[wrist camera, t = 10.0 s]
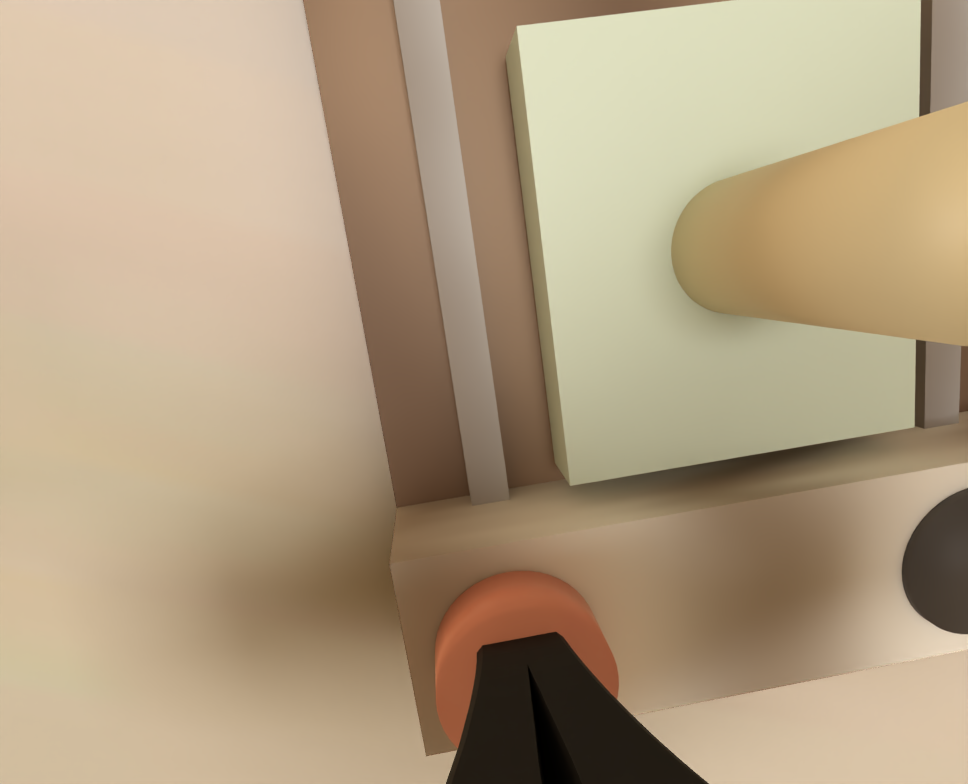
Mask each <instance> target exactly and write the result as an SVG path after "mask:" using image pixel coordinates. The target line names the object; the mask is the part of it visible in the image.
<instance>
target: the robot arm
mask: <svg viewBox="0 0 968 784" xmlns="http://www.w3.org/2000/svg"><path fill="white" fill-rule="evenodd" d="M446 784H709V783H707V782H706V781H705V780H704V779H702V778H701V777H700V776H699V775H698V774H696V773H695V772H694V771H693V770H692V769H690V768H689V767H688V766H687V765H686V764H685V763H683V762H682V761H681V760H680V759H679V758H678V757H677V756H675V755H674V754H673V753H672V752H671V751H670V750H669V749H668V748H667V747H665V746H664V745H663V744H662V743H661V742H660V741H659V740H658V739H657V738H655V737H654V736H653V735H652V734H651V733H650V732H649V731H648V730H647V729H646V728H645V727H644V726H643V725H642V724H641V723H640V722H639V721H638V720H637V719H636V718H635V717H634V716H633V715H632V714H631V713H630V712H629V711H628V710H627V709H626V708H625V707H624V706H623V705H622V704H621V703H620V702H619V701H618V700H617V699H616V698H615V697H614V696H613V695H612V694H611V693H610V692H609V691H608V690H607V689H606V688H605V686H604V685H603V684H602V683H601V682H600V681H599V680H598V679H597V678H596V677H595V675H594V674H593V673H592V672H591V671H590V670H589V669H588V667H587V666H586V665H585V664H584V663H583V662H582V660H581V659H580V658H579V657H578V655H577V654H576V653H575V652H574V650H573V649H572V648H571V647H570V645H569V644H568V643H567V641H566V640H565V639H564V637H563V636H561V635H560V634H559V633H557V632H551V633H546V634H540V635H535V636H530V637H525V638H519V639H514V640H509V641H503V642H498V643H492V644H487V645H482V647H481V648H480V649H479V650H478V652H477V663H476V673H475V680H474V686H473V691H472V695H471V700H470V705H469V709H468V713H467V717H466V720H465V724H464V728H463V732H462V735H461V739H460V743H459V746H458V750H457V753H456V756H455V759H454V762H453V765H452V768H451V771H450V773H449V776H448V779H447V782H446Z"/></svg>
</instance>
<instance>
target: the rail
mask: <svg viewBox="0 0 968 784" xmlns="http://www.w3.org/2000/svg"><path fill="white" fill-rule="evenodd" d="M723 1H731V0H303V2H304V8H305V13H306V19H307V24H308V30H309V35H310V40H311V46H312V51H313V57H314V62H315V67H316V73H317V78H318V84H319V89H320V94H321V100H322V105H323V111H324V116H325V122H326V127H327V132H328V138H329V143H330V149H331V154H332V159H333V165H334V170H335V176H336V181H337V187H338V192H339V197H340V203H341V208H342V214H343V219H344V224H345V230H346V235H347V241H348V246H349V251H350V257H351V262H352V268H353V273H354V279H355V284H356V289H357V295H358V300H359V306H360V311H361V316H362V322H363V327H364V333H365V338H366V343H367V349H368V354H369V360H370V365H371V371H372V376H373V381H374V387H375V392H376V398H377V403H378V408H379V414H380V419H381V425H382V430H383V436H384V441H385V446H386V452H387V457H388V463H389V468H390V473H391V479H392V484H393V490H394V495H395V500H396V506H397V510H396V518H395V525H394V533H393V540H392V548H391V555H390V563H389V565H390V570H391V575H392V580H393V585H394V591H395V596H396V601H397V606H398V611H399V617H400V622H401V627H402V632H403V638H404V643H405V648H406V653H407V658H408V664H409V669H410V674H411V679H412V684H413V690H414V695H415V700H416V705H417V711H418V716H419V721H420V726H421V731H422V737H423V742H424V747H425V752H426V756H429V755H434V754H440V753H445V752H450V751H455V750H458V748H457V747H456V746H455V745H454V744H453V743H452V742H451V740H450V739H449V738H448V736H447V735H446V733H445V731H444V730H443V727H442V725H441V723H440V720H439V716H438V713H437V707H436V685H435V642H436V636H437V632H438V629H439V626H440V623H441V621H442V619H443V617H444V615H445V613H446V612H447V610H448V609H449V607H450V606H451V605H452V603H453V602H454V601H455V600H456V599H457V598H458V597H459V596H460V595H461V594H462V593H463V592H465V591H466V590H467V589H468V588H470V587H471V586H473V585H474V584H476V583H478V582H480V581H482V580H484V579H486V578H488V577H491V576H494V575H497V574H501V573H505V572H512V571H533V572H540V573H544V574H548V575H551V576H553V577H556V578H558V579H560V580H562V581H564V582H566V583H567V584H569V585H570V586H571V587H573V588H574V589H575V590H577V591H578V593H579V594H580V595H581V596H582V597H583V598H584V599H585V601H586V602H587V603H588V605H589V607H590V609H591V610H592V612H593V614H594V616H595V618H596V621H597V623H598V625H599V627H600V629H601V631H602V633H603V635H604V637H605V639H606V641H607V643H608V645H609V647H610V649H611V651H612V654H613V656H614V659H615V662H616V664H617V669H618V675H619V690H618V697H617V700H618V701H619V702H620V703H621V704H622V705H623V706H624V707H625V708H626V709H627V710H628V711H629V712H630V713H631V714H632V715H638V714H643V713H648V712H653V711H658V710H664V709H669V708H674V707H679V706H684V705H689V704H694V703H699V702H704V701H709V700H714V699H720V698H725V697H730V696H735V695H740V694H745V693H750V692H755V691H760V690H765V689H770V688H776V687H781V686H786V685H791V684H796V683H801V682H806V681H811V680H816V679H821V678H826V677H832V676H837V675H842V674H847V673H852V672H857V671H862V670H867V669H872V668H877V667H882V666H888V665H893V664H898V663H903V662H908V661H913V660H918V659H923V658H928V657H933V656H938V655H944V654H949V653H954V652H959V651H964V650H968V346H959V345H952V344H945V343H937V342H930V341H923V340H916V363H915V427H914V428H908V429H902V430H896V431H890V432H885V433H879V434H873V435H867V436H861V437H855V438H849V439H843V440H837V441H832V442H826V443H820V444H814V445H808V446H802V447H796V448H790V449H785V450H779V451H773V452H767V453H761V454H755V455H749V456H743V457H737V458H732V459H726V460H720V461H714V462H708V463H702V464H696V465H690V466H685V467H679V468H673V469H667V470H661V471H655V472H649V473H643V474H638V475H632V476H626V477H620V478H614V479H608V480H602V481H596V482H590V483H585V484H579V485H573V486H570V485H569V483H568V482H567V480H566V479H565V477H564V476H563V474H562V473H561V471H560V470H559V468H558V467H557V465H556V464H555V460H554V452H553V443H552V435H551V427H550V419H549V411H548V402H547V394H546V386H545V378H544V369H543V361H542V353H541V345H540V337H539V328H538V320H537V312H536V304H535V295H534V287H533V279H532V271H531V262H530V254H529V246H528V238H527V230H526V221H525V213H524V205H523V197H522V188H521V180H520V172H519V164H518V156H517V147H516V139H515V131H514V123H513V114H512V106H511V98H510V90H509V81H508V73H507V65H506V54H507V52H508V49H509V46H510V43H511V40H512V38H513V35H514V32H515V29H516V26H521V25H530V24H538V23H546V22H555V21H563V20H572V19H580V18H588V17H597V16H605V15H614V14H622V13H630V12H639V11H647V10H656V9H664V8H672V7H681V6H689V5H697V4H706V3H714V2H723ZM967 101H968V0H921V27H920V94H919V117H920V116H923V115H927V114H930V113H933V112H936V111H939V110H942V109H945V108H949V107H952V106H955V105H958V104H961V103H964V102H967Z"/></svg>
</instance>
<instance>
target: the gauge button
mask: <svg viewBox="0 0 968 784" xmlns="http://www.w3.org/2000/svg"><path fill="white" fill-rule="evenodd" d="M551 632H557V633H559V634H560V635H561V636H563V637H564V639H565V640H566V641H567V643H568V644H569V645H570V647H571V648H572V649H573V650H574V652H575V653H576V654H577V655H578V657H579V658H580V659H581V660H582V662H583V663H584V664H585V665H586V666H587V667H588V669H589V670H590V671H591V672H592V673H593V674H594V675H595V677H596V678H597V679H598V680H599V681H600V682H601V683H602V684H603V685H604V686H605V688H606V689H607V690H608V691H609V692H610V693H611V694H612V695H613V696H614V697H615V698H616V699H617V697H618V690H619V675H618V669H617V664H616V662H615V659H614V656H613V654H612V651H611V649H610V647H609V645H608V643H607V641H606V639H605V637H604V635H603V633H602V631H601V629H600V627H599V625H598V623H597V621H596V618H595V616H594V614H593V612H592V610H591V609H590V607H589V605H588V603H587V602H586V601H585V599H584V598H583V597H582V596H581V595H580V594H579V593H578V591H577V590H575V589H574V588H573V587H571V586H570V585H569V584H567V583H566V582H564V581H562V580H560V579H558V578H556V577H553V576H551V575H548V574H544V573H540V572H533V571H512V572H505V573H501V574H497V575H494V576H491V577H488V578H486V579H484V580H482V581H480V582H478V583H476V584H474V585H473V586H471V587H470V588H468V589H467V590H466V591H465V592H463V593H462V594H461V595H460V596H459V597H458V598H457V599H456V600H455V601H454V602H453V603H452V605H451V606H450V607H449V609H448V610H447V612H446V613H445V615H444V617H443V619H442V621H441V623H440V626H439V629H438V632H437V636H436V642H435V685H436V707H437V713H438V716H439V720H440V723H441V725H442V727H443V730H444V731H445V733H446V735H447V736H448V738H449V739H450V740H451V742H452V743H453V744H454V745H455V746H456V747H457V748H458V746H459V743H460V739H461V735H462V732H463V728H464V724H465V720H466V717H467V713H468V709H469V705H470V700H471V695H472V691H473V686H474V680H475V673H476V663H477V652H478V650H479V649H480V648H481V647H482V645H487V644H492V643H498V642H503V641H509V640H514V639H519V638H525V637H530V636H535V635H540V634H546V633H551Z"/></svg>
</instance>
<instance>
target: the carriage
mask: <svg viewBox="0 0 968 784" xmlns="http://www.w3.org/2000/svg"><path fill="white" fill-rule="evenodd" d="M920 27H921V0H731V1H723V2H714V3H706V4H697V5H689V6H681V7H672V8H664V9H656V10H647V11H639V12H630V13H622V14H614V15H605V16H597V17H588V18H580V19H572V20H563V21H555V22H546V23H538V24H530V25H521V26H516V29H515V32H514V35H513V38H512V40H511V43H510V46H509V49H508V52H507V54H506V65H507V73H508V81H509V90H510V98H511V106H512V114H513V123H514V131H515V139H516V147H517V156H518V164H519V172H520V180H521V188H522V197H523V205H524V213H525V221H526V230H527V238H528V246H529V254H530V262H531V271H532V279H533V287H534V295H535V304H536V312H537V320H538V328H539V337H540V345H541V353H542V361H543V369H544V378H545V386H546V394H547V402H548V411H549V419H550V427H551V435H552V443H553V452H554V460H555V464H556V465H557V467H558V468H559V470H560V471H561V473H562V474H563V476H564V477H565V479H566V480H567V482H568V483H569V485H570V486H573V485H579V484H585V483H590V482H596V481H602V480H608V479H614V478H620V477H626V476H632V475H638V474H643V473H649V472H655V471H661V470H667V469H673V468H679V467H685V466H690V465H696V464H702V463H708V462H714V461H720V460H726V459H732V458H737V457H743V456H749V455H755V454H761V453H767V452H773V451H779V450H785V449H790V448H796V447H802V446H808V445H814V444H820V443H826V442H832V441H837V440H843V439H849V438H855V437H861V436H867V435H873V434H879V433H885V432H890V431H896V430H902V429H908V428H914V427H915V363H916V340H923V341H930V342H937V343H945V344H952V345H959V346H968V101H967V102H964V103H961V104H958V105H955V106H952V107H949V108H945V109H942V110H939V111H936V112H933V113H930V114H927V115H923V116H920V117H919V94H920Z"/></svg>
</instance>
